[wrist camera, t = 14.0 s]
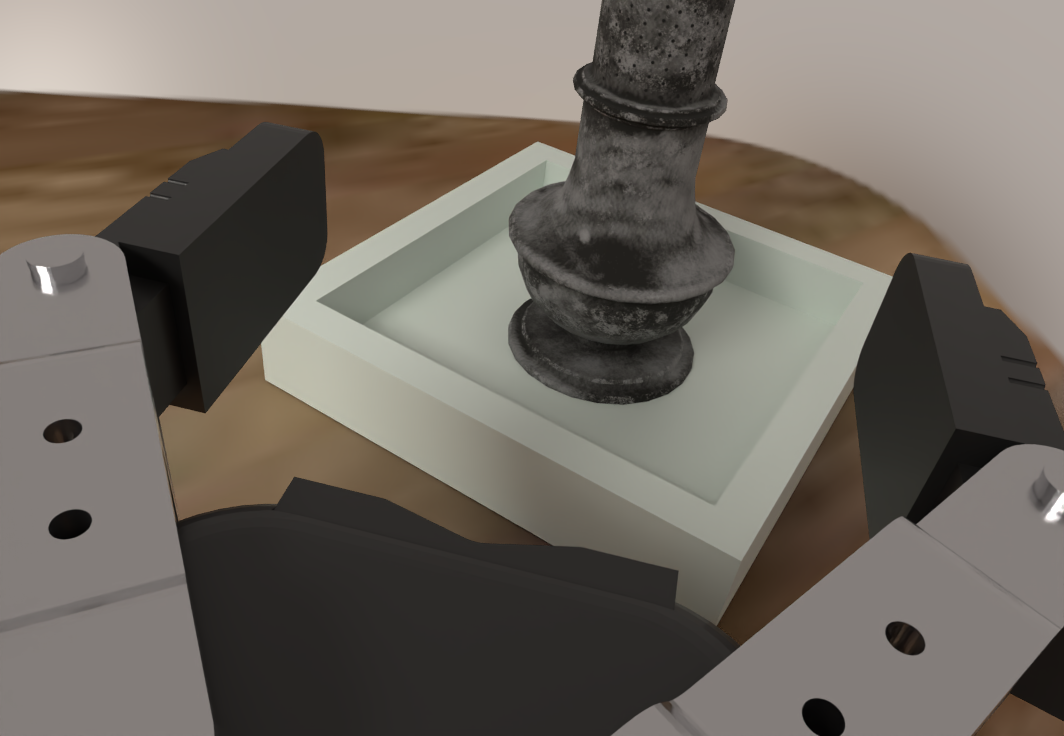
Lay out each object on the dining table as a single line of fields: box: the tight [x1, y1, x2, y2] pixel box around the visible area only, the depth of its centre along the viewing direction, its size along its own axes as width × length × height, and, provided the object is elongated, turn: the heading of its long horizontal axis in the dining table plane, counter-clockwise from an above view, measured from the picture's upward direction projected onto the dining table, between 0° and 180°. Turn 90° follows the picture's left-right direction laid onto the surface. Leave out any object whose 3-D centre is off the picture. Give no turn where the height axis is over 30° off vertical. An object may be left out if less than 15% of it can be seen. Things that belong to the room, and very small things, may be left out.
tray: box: [261, 142, 893, 626], centre depth 25 cm, size 13×13×2 cm
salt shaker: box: [508, 0, 735, 405], centre depth 21 cm, size 6×6×12 cm
